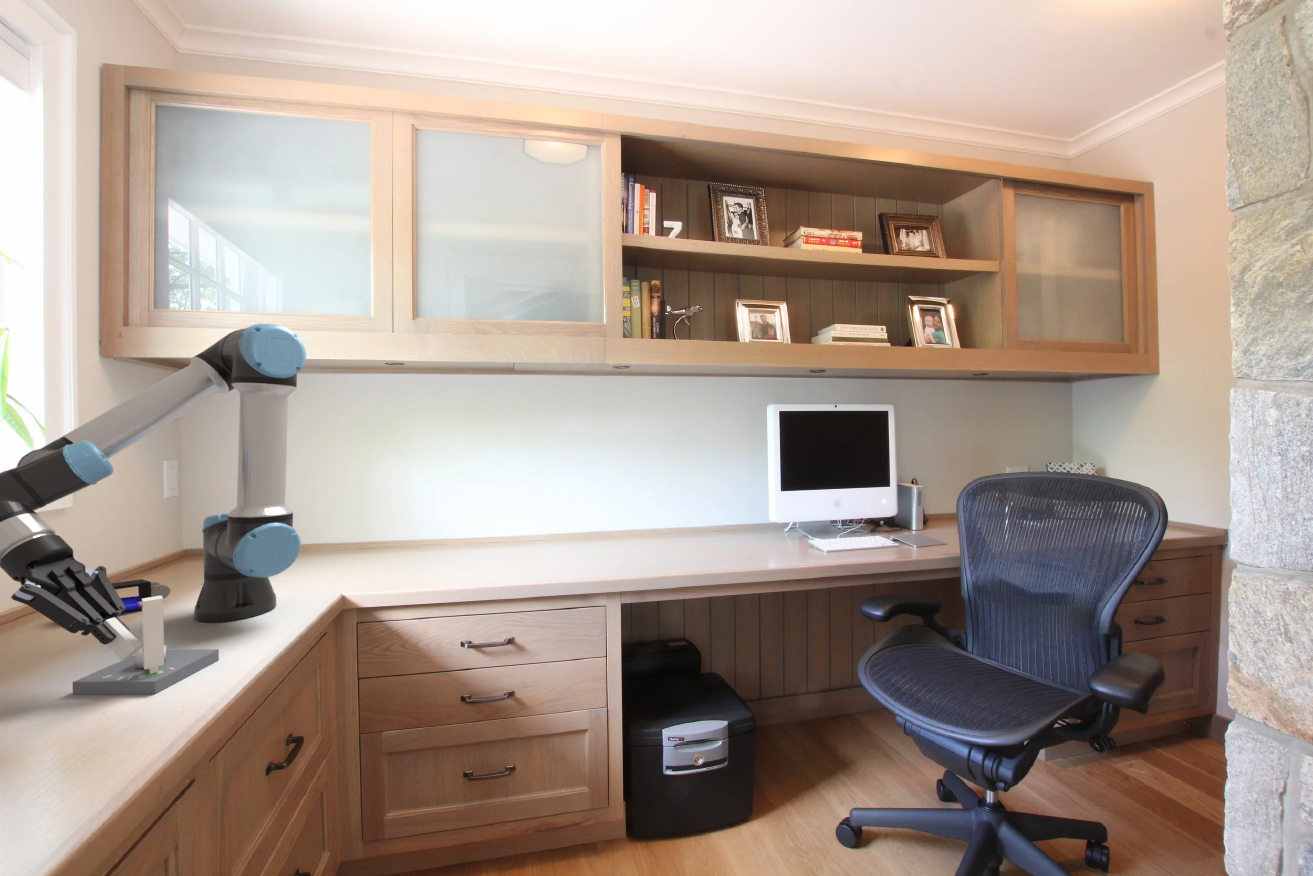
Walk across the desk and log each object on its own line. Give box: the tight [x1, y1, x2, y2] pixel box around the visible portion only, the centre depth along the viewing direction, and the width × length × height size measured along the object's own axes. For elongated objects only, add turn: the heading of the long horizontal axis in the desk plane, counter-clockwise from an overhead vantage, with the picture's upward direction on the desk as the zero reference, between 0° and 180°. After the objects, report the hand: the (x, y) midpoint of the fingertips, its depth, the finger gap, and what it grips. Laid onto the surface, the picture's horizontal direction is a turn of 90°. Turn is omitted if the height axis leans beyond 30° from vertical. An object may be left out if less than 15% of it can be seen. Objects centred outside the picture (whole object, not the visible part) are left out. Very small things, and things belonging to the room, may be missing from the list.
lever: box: [133, 596, 167, 674], centre depth 94 cm, size 8×4×12 cm, turn 47°
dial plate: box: [72, 648, 220, 696], centre depth 95 cm, size 13×13×2 cm
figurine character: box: [111, 578, 171, 612], centre depth 129 cm, size 7×8×15 cm
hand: (132, 652), depth 90 cm, fingers closed
